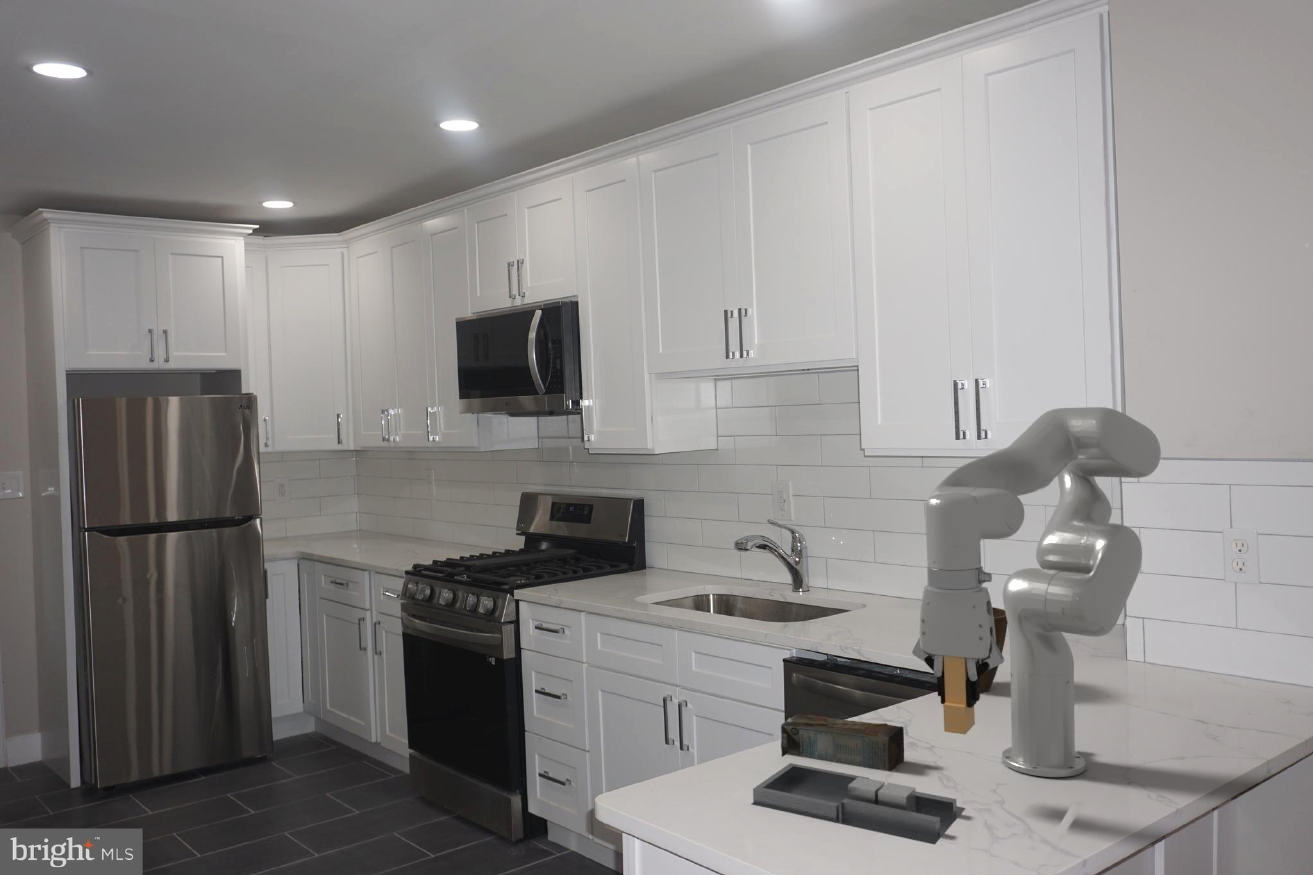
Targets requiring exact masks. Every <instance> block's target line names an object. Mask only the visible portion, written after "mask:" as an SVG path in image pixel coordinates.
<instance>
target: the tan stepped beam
mask: <svg viewBox="0 0 1313 875" xmlns="http://www.w3.org/2000/svg"><path fill="white" fill-rule="evenodd" d="M944 676H945V703H944V704H942V705H943V732H945V733H952V734H957V735H958V734H959V735H966V734H967V733H968V732H969V731H970V730H971V729H972V728H973V727H974V726H975V725H976V724H975V723H976V720H975V718H976V717H975V714H976V713H975V705H974V706H973V707H972V708H968V707H967V706H966V680H967V679H968V668H967V660H966V659H964V658H954V657H945V656H944Z"/></svg>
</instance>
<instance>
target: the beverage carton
mask: <svg viewBox="0 0 1313 875" xmlns="http://www.w3.org/2000/svg"><path fill="white" fill-rule="evenodd" d="M780 733H781V736H780V737H781V738H780V749H781V750H780V751H781V758H783V757H785V756H786V755H787V756H789V755H790V756H796V757H801V758H807V759H813V760H819V761H824V762H830V763H836V764H837V763H838V764H840V765H841V764H842V765H849V766H855V767H862V768H866V769H872V770H880V771H885V772H891V771H893V770H894V769H896V768H897V766H898V765H903V764H904V763H905V731H904V727H903V725H902V726H899V725H898V726H897V725H893V724H888V723H886V722H885V723H884V722H883V723H874V722H865V721H858V720H857V721H856V720H848V719H842V718H841V719H840V718H833V717H832V718H831V717H824V716H818V715H811V714H805V713H804V714H803V713H797V714H796V715H794V716H792V717H789V718H788V719H787V720H786V721H785V722H783V723H782V724H781V725H780Z"/></svg>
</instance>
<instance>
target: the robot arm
mask: <svg viewBox="0 0 1313 875" xmlns="http://www.w3.org/2000/svg"><path fill="white" fill-rule="evenodd" d="M1161 450H1162V449H1161V445H1160V442H1159V439H1158V437H1157V436H1156V434H1155V433H1154V432H1153V430H1152V429H1151V428H1149V427H1148V426H1146V424H1145V425H1144V424H1143V423H1142V422H1140V421H1138V420H1136V419H1134V418H1132V417H1131V416H1130V415H1128V414H1125V413H1123V412H1121V411H1119V410H1116V409H1113V408H1110V407H1105V406H1104V407H1103V406H1102V407H1101V406H1100V407H1099V406H1097V407H1095V406H1093V407H1062V408H1061V407H1059V408H1053V409H1051V410H1047V411H1046V412H1043V413H1042V414H1041V415H1040V416H1039V417H1038V418H1037V419H1036V420H1035V421H1034V422H1033V423H1032V424H1030V425H1029V427H1027V428H1026V430H1024V432H1022V434H1021V435H1019V436H1018V437H1017V438H1016V439H1015V440H1014V441H1013V442H1012V443H1011V444H1010V445H1009V446H1007V447H1005V448H1003V449H999V450H997V451H994V452H991V453H989V454H987V455H984V456H982V457H980V458H977V459H975V460H971V461H970V462H968V463H965V464H963V465H961V466H960V467H958V468H956V469H955V470H953V471H951V472H950V473H949V474H948V475H947V476H946V477H945V478H944V479H943V480H942V481H940V483H939V484H938V485H937V486H936V487H935V488H934V490H932V492H931V494H930V496H929V497H928V498H927V500H926V502H925V532H926V534H925V535H926V558H927V559H926V562H927V563H926V564H927V584H926V585H925V586H924V588H923V591H922V598H921V604H920V616H919V637H918V640H917V641H916V643H915V645H914V647H913V648H912V652H911V653H912V655H913V657H916V658H918V659H919V660H921V661H923V662H924V663H925V664H926V665H927V667H929V669H930V670H932V672H933V675H934V677H936V685H937V688H936V690H937V696H938V697H940V704H941V705H943V704H944V703H945V676H944V656H945V657H954V658H964V659H966V660H967V668H968V679H967V680H966V706H967V707H968V708H972V707H973V706H974V707H975V705H976V704H977V702H979V701H980V698H981V692H980V682H979V677H980V676H981V675H982V674H983V673H984V672H986V671H987V670H988V669H990V668H993V667H995V666H998V665H999V666H1000V665H1002V664H1003V663H1004V662H1005V657H1004V655H1003V653H1002V654H1001V652H1000V650H999V648H998V646H997V645H996V635H995V625H994V617H993V610H992V607H993V606H992V599H991V595H990V591H989V588H988V587H985V586H983V584H985V583H991V582H992V578H993V574H992V572H987V571H984V569H983V566H982V554H981V541H982V540H1004V539H1007V538H1010V537H1012V536H1013V535H1015V534H1016V533H1017V532H1018V531H1019V530H1020V529H1021V528H1022V526H1023V523H1024V519H1025V508H1024V503H1023V502H1022V500H1021V499H1020V496H1024V495H1028V494H1031V493H1036V492H1038V491H1042V490H1044V489H1045V488H1047V487H1048V486H1049V485H1051V483H1052V482H1053V481H1054V480H1055V479H1056V478H1057V480H1058V487H1059V500H1058V503H1057V505H1056V508H1055V509H1054V511H1053V513H1052V515H1051V517H1050V519H1049V520H1048V522H1047V525H1046V527H1045V529H1044V530H1043V532H1042V534H1041V537H1040V538H1039V540H1038V544H1037V546H1036V551H1035V559H1036V562H1037V564H1038V565H1039V567H1040V568H1036V567H1034V568H1033V567H1029V568H1023V569H1019V570H1016V571H1014V572H1013V573H1011V574H1010V575H1009V576H1008V577H1007V579H1006V580H1005V583H1004V585H1003V590H1002V600H1003V601H1002V602H1003V603H1002V604H1003V607H1004V608H1003V610H1005V613H1006V618H1007V623H1008V624H1007V630H1008V635H1009V646H1010V647H1009V648H1010V709H1011V710H1010V714H1011V716H1010V720H1011V722H1010V723H1011V725H1010V726H1011V746H1010V747H1008V748H1006V749H1004V750H1003V751H1002V753H1001V760H1002V763H1003V764H1004V765H1005V766H1007V767H1008V768H1010V769H1012V770H1014V771H1016V772H1019V773H1022V774H1025V775H1030V776H1036V777H1043V778H1044V777H1045V778H1068V777H1073V776H1077V775H1080V774H1082V773H1084V772H1085V771H1086V760H1085V758H1084V757H1083V756H1081V755H1080V754H1078V753H1077V752H1076V744H1075V742H1076V739H1075V734H1076V732H1075V674H1074V673H1075V672H1074V671H1075V663H1074V662H1075V661H1074V656H1073V652H1072V649H1071V647H1070V644H1069V643H1068V640H1067V639H1066V637H1065V636H1064V634H1063V633H1065V634H1066V633H1067V634H1070V635H1071V634H1072V635H1078V636H1083V637H1103V636H1106V635H1107V634H1109V633H1110V632H1112V631H1113V629H1114V627H1116V625H1117V622H1119V619H1120V617H1121V614H1122V612H1123V610H1124V607H1126V606H1125V605H1126V604H1127V601H1128V599H1129V597H1130V594H1131V592H1132V590H1133V587H1134V585H1135V583H1136V581H1137V578H1138V576H1139V574H1140V570H1141V567H1142V560H1143V548H1142V542H1141V539H1140V537H1139V536H1138V534H1137V532H1135V530H1134V529H1132V528H1130V527H1129V526H1126V525H1123V524H1119V523H1114V522H1110V520H1111V518H1112V515H1113V514H1112V513H1113V509H1112V505H1111V503H1110V501H1109V500H1110V499H1109V498H1108V497H1107V495H1106V494H1105V492H1104V490H1102V488H1101V487H1100V486H1099V484H1098V483H1097V481H1096V477H1097V478H1098V477H1099V478H1100V477H1101V478H1123V479H1125V478H1127V479H1128V478H1131V479H1140V478H1146V477H1149V476H1150V475H1152V474H1153V473H1154V472H1155V471H1156V470H1157V468H1158V467H1159V465H1160V464H1159V463H1160V462H1161V456H1162V455H1161V454H1162V451H1161ZM989 654H990V658H989V659H987V660H984V661H983V662H982V663H981V659H985V658H987V657H988V655H989ZM999 666H998V667H999Z"/></svg>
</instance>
